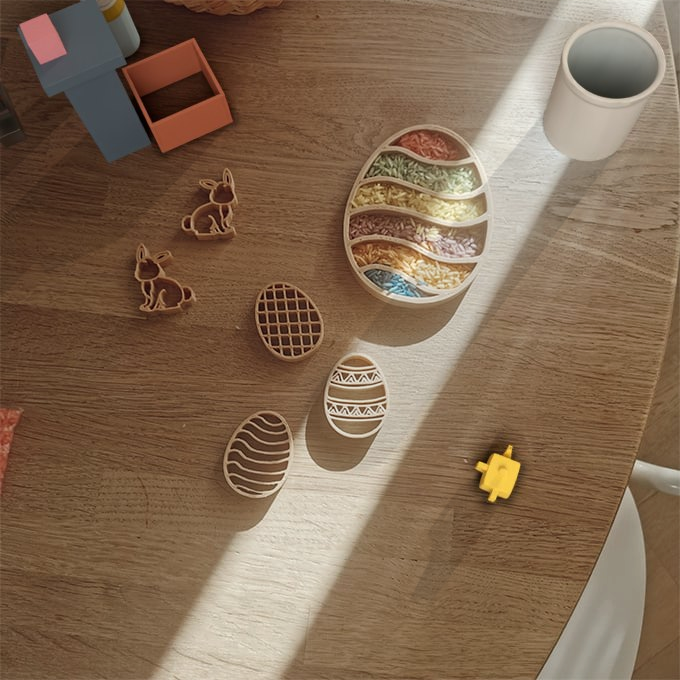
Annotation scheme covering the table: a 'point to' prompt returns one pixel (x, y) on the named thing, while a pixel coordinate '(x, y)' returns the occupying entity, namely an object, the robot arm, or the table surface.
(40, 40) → the pink rectangular block
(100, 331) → the table surface
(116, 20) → the bottle
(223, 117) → the bin
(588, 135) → the utensil holder
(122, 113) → the blue t-shaped block
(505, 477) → the teapot
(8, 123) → the dark grey angular piece
